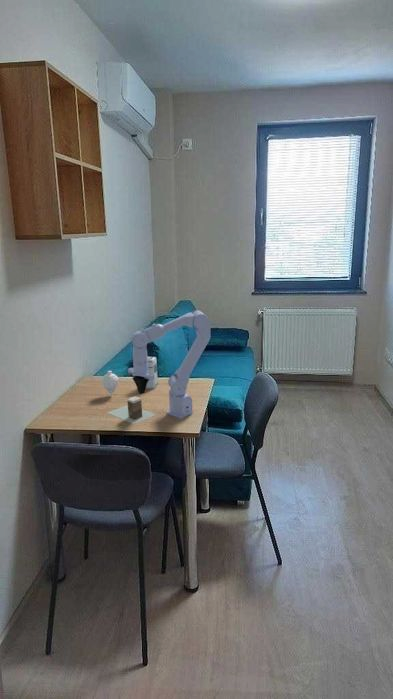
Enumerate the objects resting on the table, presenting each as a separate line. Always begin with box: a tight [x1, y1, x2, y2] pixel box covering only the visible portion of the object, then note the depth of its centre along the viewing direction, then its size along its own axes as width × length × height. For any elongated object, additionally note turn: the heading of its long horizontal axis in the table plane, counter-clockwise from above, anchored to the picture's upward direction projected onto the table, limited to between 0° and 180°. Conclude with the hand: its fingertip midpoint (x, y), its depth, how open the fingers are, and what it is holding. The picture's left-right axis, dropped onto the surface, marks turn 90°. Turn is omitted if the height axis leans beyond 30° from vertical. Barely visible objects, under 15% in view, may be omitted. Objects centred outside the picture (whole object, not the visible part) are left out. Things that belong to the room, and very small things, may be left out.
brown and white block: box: [127, 396, 143, 420], centre depth 186 cm, size 4×4×8 cm
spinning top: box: [101, 370, 120, 396], centre depth 212 cm, size 8×8×12 cm
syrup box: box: [146, 356, 159, 389], centre depth 222 cm, size 6×6×14 cm
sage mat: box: [106, 404, 157, 425], centre depth 191 cm, size 18×12×1 cm, turn 46°
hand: (141, 393), depth 186 cm, fingers closed
